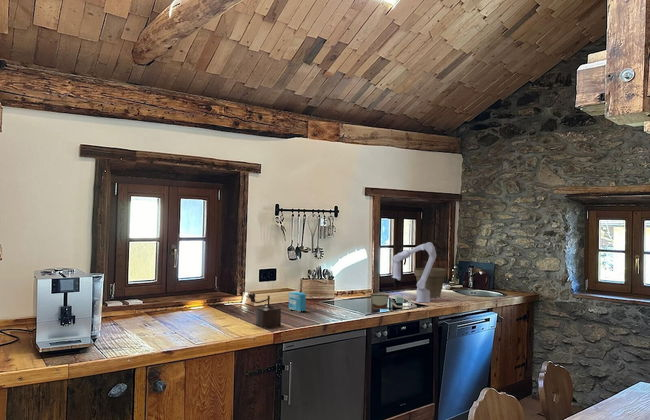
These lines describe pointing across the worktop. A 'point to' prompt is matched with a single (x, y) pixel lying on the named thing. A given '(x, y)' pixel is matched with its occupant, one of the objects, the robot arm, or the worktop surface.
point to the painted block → (399, 299)
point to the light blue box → (297, 301)
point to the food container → (380, 300)
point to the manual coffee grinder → (266, 313)
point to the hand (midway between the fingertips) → (396, 289)
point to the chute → (402, 306)
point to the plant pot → (432, 280)
